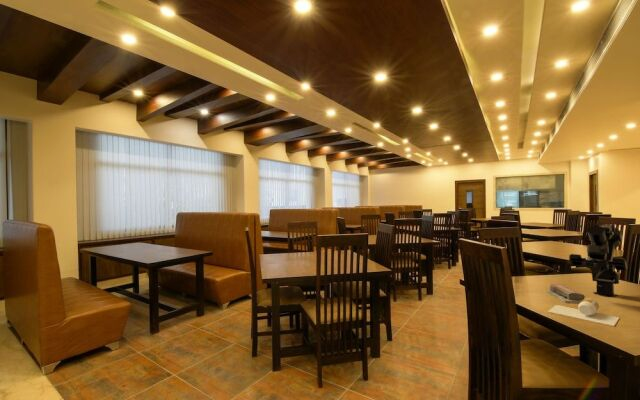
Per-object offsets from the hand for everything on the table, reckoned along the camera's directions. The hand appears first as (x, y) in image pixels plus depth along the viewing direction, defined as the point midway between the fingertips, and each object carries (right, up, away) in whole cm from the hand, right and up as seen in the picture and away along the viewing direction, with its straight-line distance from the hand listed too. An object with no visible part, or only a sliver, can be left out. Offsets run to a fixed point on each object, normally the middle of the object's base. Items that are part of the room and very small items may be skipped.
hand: (594, 277), depth 133 cm
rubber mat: (-15, -12, -11) cm, 22 cm away
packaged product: (-3, -13, +12) cm, 18 cm away
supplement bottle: (-8, -9, -7) cm, 14 cm away
